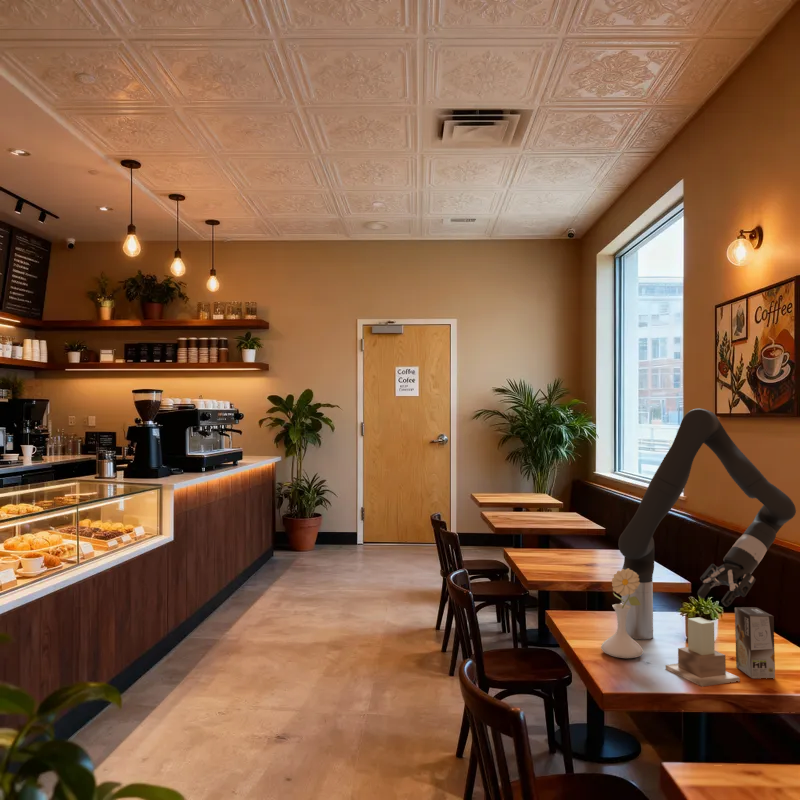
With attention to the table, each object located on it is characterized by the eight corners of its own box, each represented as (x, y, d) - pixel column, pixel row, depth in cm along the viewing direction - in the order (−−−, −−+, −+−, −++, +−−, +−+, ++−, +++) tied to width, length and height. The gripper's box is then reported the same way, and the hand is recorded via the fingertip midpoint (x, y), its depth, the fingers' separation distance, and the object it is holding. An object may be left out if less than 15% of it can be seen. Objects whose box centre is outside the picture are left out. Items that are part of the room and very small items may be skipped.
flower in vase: (592, 651, 191) (591, 564, 192) (624, 646, 195) (623, 561, 197) (623, 666, 179) (622, 573, 180) (656, 661, 183) (655, 570, 185)
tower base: (665, 668, 177) (665, 646, 178) (701, 664, 181) (701, 641, 181) (701, 686, 165) (701, 662, 165) (739, 681, 169) (739, 657, 169)
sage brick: (688, 649, 175) (687, 618, 176) (700, 647, 177) (699, 617, 177) (702, 655, 171) (701, 623, 171) (714, 653, 172) (714, 622, 172)
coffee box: (776, 679, 170) (775, 616, 171) (751, 678, 170) (750, 615, 171) (758, 666, 179) (757, 606, 180) (734, 666, 180) (733, 606, 180)
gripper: (717, 541, 187) (684, 585, 183) (758, 550, 173) (724, 597, 169) (732, 559, 188) (700, 603, 184) (774, 569, 175) (740, 617, 171)
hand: (711, 600), depth 177 cm, fingers open, 8 cm apart
